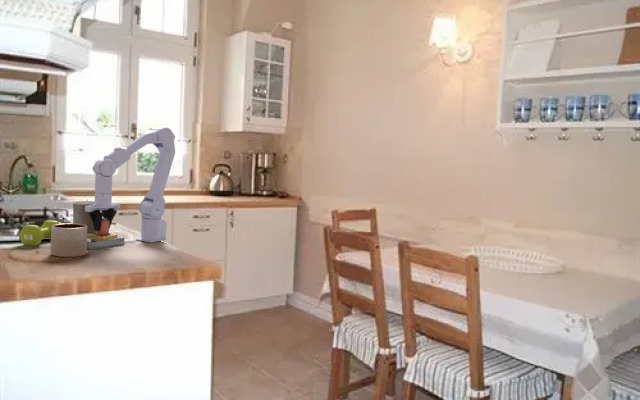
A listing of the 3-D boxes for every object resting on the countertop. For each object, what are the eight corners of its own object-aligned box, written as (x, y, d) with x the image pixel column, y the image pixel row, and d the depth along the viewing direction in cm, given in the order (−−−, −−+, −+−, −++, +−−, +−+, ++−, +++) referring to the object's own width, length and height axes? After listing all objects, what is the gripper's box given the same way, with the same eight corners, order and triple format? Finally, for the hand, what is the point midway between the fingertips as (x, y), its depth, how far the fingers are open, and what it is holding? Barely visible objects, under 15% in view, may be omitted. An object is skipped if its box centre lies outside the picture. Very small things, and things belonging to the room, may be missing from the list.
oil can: (102, 233, 203) (103, 217, 202) (111, 235, 201) (112, 218, 201) (94, 235, 199) (95, 218, 198) (103, 236, 197) (104, 219, 197)
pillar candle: (103, 236, 215) (104, 198, 214) (94, 240, 206) (95, 200, 204) (78, 235, 215) (78, 197, 213) (68, 239, 205) (68, 199, 204)
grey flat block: (101, 240, 208) (102, 230, 207) (124, 244, 203) (124, 234, 203) (62, 246, 191) (62, 236, 191) (85, 250, 187) (86, 240, 187)
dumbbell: (43, 238, 205) (44, 219, 204) (64, 240, 204) (65, 220, 203) (16, 245, 188) (16, 225, 188) (38, 247, 188) (39, 226, 187)
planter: (93, 253, 185) (93, 224, 184) (75, 259, 174) (76, 229, 173) (62, 250, 186) (63, 222, 185) (43, 256, 175) (43, 226, 174)
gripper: (109, 190, 207) (108, 226, 208) (79, 192, 194) (78, 230, 195) (124, 192, 204) (123, 228, 205) (94, 194, 191) (92, 233, 192)
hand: (102, 229), depth 200 cm, fingers closed on oil can, 4 cm apart
